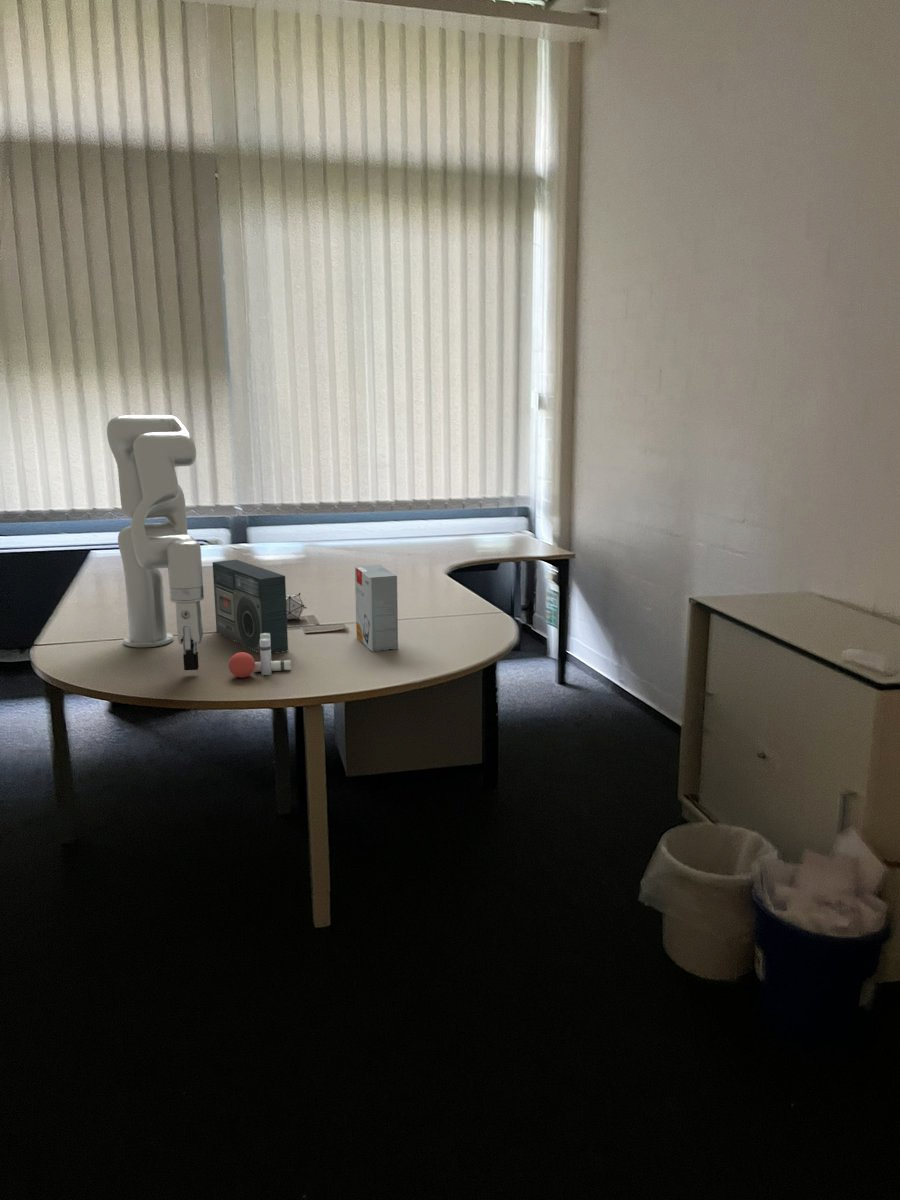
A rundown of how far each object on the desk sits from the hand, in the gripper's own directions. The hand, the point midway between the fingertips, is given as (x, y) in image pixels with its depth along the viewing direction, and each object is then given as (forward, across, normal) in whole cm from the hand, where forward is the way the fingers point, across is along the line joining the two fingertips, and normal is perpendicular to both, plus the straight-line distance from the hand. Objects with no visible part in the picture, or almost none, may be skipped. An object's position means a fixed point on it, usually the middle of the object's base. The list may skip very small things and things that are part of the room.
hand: (191, 669), depth 210 cm
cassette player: (+2, +28, -13) cm, 31 cm away
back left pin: (+2, +2, -17) cm, 18 cm away
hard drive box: (+2, +20, -46) cm, 50 cm away
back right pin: (+2, -2, -17) cm, 18 cm away
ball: (-2, -4, -12) cm, 13 cm away
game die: (+2, +50, -24) cm, 56 cm away
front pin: (0, 0, -14) cm, 15 cm away
